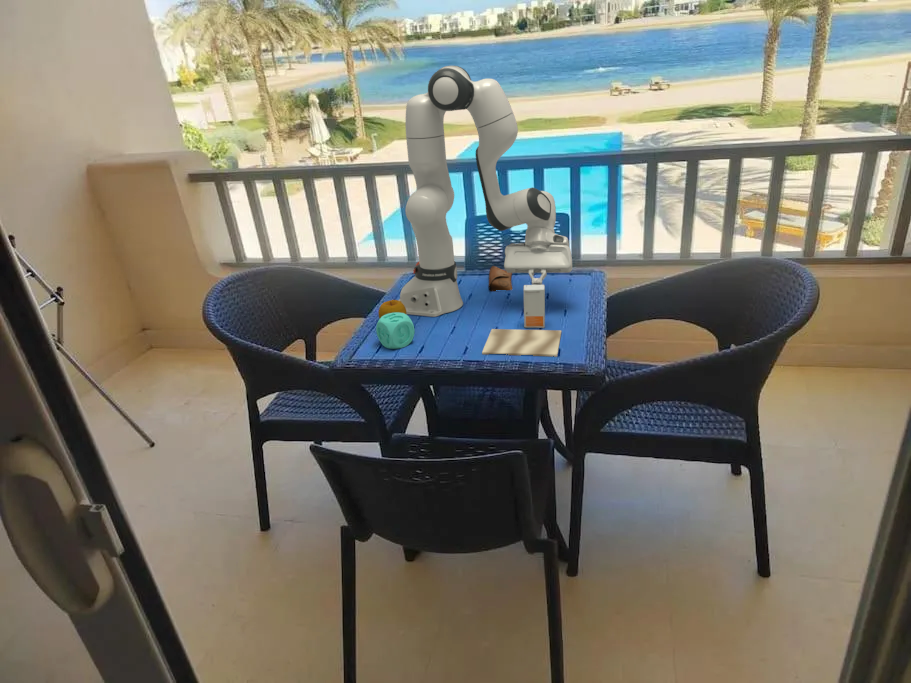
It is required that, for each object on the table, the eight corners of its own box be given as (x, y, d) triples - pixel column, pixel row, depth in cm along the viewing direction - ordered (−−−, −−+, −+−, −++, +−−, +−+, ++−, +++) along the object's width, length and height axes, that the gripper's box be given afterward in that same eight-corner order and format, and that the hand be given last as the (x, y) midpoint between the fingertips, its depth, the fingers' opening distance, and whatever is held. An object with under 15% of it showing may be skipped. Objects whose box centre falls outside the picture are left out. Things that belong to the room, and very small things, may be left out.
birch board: (482, 354, 165) (481, 352, 165) (491, 330, 178) (491, 329, 178) (557, 356, 160) (557, 354, 160) (561, 332, 173) (561, 330, 173)
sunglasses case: (514, 290, 206) (503, 274, 204) (496, 301, 208) (485, 285, 206) (512, 272, 222) (502, 257, 220) (496, 282, 224) (486, 268, 222)
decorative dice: (400, 334, 181) (396, 309, 178) (416, 342, 175) (413, 316, 172) (377, 343, 177) (373, 318, 173) (393, 351, 171) (390, 325, 168)
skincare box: (524, 328, 178) (522, 289, 172) (524, 322, 181) (523, 284, 176) (545, 328, 177) (544, 289, 172) (545, 322, 180) (544, 284, 175)
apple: (388, 321, 191) (385, 295, 187) (413, 323, 188) (410, 296, 184) (375, 332, 184) (371, 305, 180) (401, 335, 181) (397, 307, 177)
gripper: (504, 238, 185) (500, 280, 181) (572, 237, 180) (570, 280, 176) (507, 248, 191) (503, 289, 186) (573, 247, 186) (571, 289, 181)
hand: (536, 284), depth 181 cm, fingers closed
